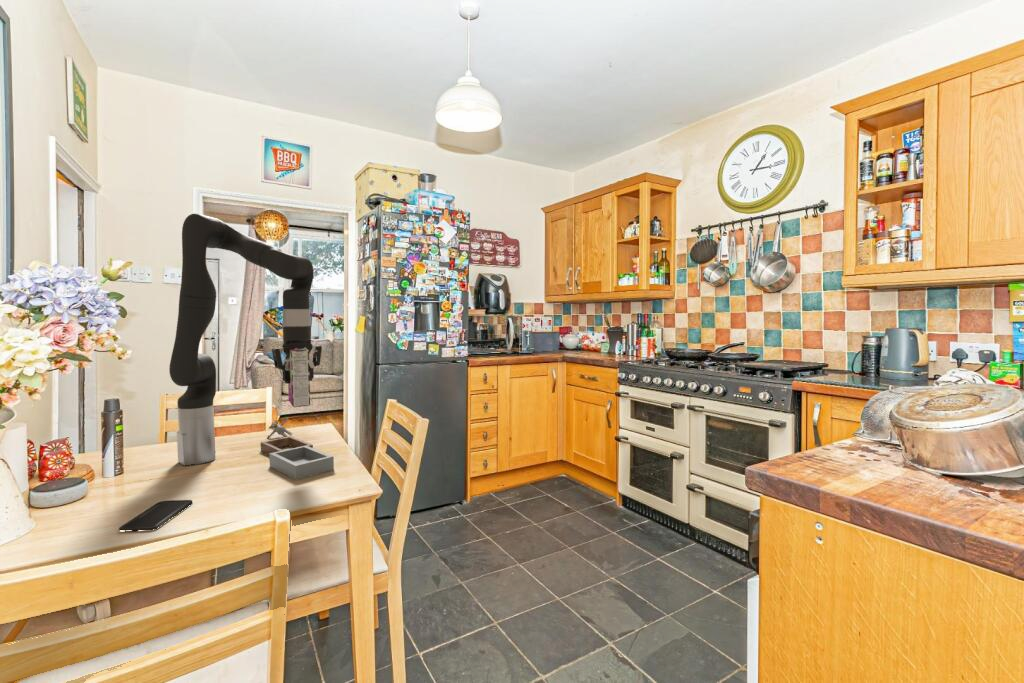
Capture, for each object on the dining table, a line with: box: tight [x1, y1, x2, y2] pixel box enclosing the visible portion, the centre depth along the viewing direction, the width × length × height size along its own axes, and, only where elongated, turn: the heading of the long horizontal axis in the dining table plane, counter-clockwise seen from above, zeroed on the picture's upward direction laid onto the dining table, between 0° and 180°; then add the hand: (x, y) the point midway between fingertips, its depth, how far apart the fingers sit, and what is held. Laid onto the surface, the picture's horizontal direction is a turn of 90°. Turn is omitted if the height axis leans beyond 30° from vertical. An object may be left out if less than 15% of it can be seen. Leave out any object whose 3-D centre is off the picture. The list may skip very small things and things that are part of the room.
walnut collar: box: [260, 435, 314, 455], centre depth 158 cm, size 10×16×3 cm, turn 49°
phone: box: [118, 499, 193, 531], centre depth 110 cm, size 8×1×15 cm
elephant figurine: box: [266, 417, 293, 440], centre depth 177 cm, size 10×6×9 cm
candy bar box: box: [287, 349, 311, 408], centre depth 141 cm, size 11×5×16 cm, turn 31°
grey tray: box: [268, 446, 335, 480], centre depth 143 cm, size 11×17×4 cm, turn 49°
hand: (298, 381), depth 141 cm, fingers closed on candy bar box, 6 cm apart
